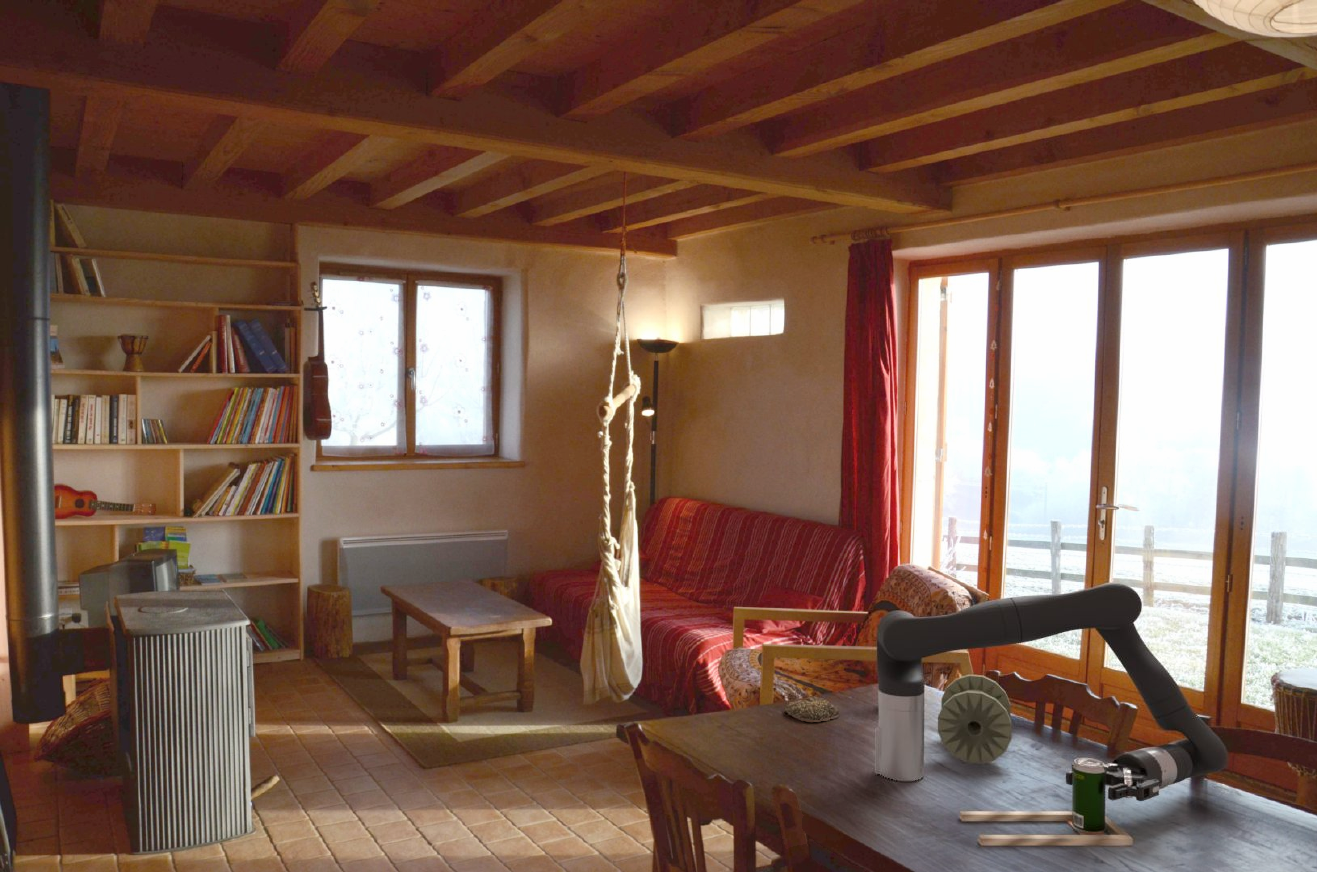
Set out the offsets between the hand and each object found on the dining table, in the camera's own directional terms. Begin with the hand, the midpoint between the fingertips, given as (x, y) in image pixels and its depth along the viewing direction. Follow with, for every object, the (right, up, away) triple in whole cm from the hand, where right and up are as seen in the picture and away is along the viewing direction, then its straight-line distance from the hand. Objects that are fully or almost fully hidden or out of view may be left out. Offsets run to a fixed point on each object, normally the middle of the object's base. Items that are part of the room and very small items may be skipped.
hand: (1088, 786), depth 176 cm
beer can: (0, -8, 0) cm, 8 cm away
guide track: (-8, -8, 0) cm, 11 cm away
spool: (-6, -8, +44) cm, 45 cm away
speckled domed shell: (-38, -8, +71) cm, 81 cm away
